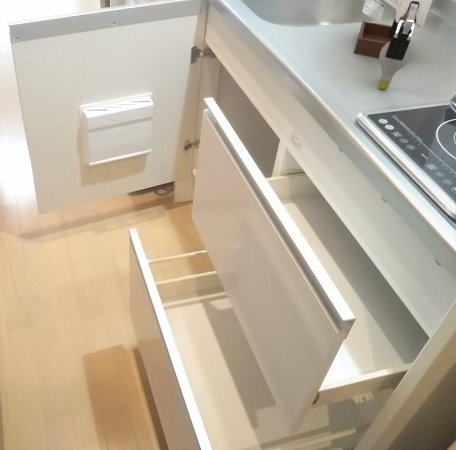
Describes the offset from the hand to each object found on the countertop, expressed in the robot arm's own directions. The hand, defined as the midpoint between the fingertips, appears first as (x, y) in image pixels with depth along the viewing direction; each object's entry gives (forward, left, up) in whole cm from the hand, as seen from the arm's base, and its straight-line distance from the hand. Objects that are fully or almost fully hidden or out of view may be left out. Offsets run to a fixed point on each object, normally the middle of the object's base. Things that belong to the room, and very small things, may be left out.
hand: (394, 48), depth 101 cm
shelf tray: (+2, -21, -9) cm, 23 cm away
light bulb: (0, 0, -9) cm, 9 cm away
